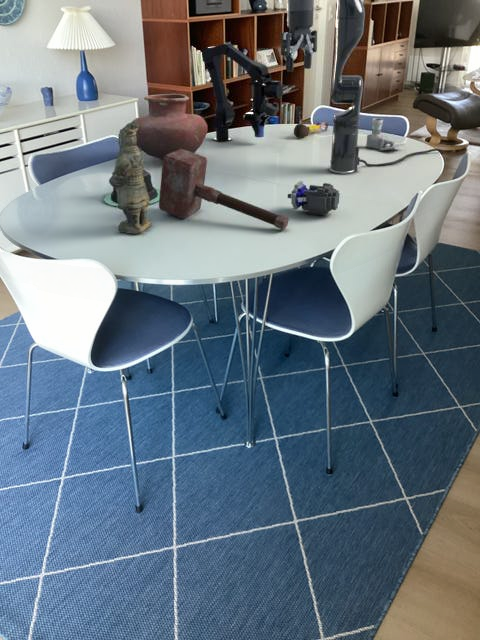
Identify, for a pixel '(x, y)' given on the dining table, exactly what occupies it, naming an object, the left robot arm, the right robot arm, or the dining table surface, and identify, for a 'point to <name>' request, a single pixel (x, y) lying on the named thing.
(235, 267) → the dining table surface
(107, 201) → the chocolate cake
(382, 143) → the grey boot
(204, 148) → the dining table surface
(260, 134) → the canister
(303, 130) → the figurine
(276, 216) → the sledgehammer
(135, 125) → the statue
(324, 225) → the dining table surface
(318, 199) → the toy
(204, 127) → the clay pot
